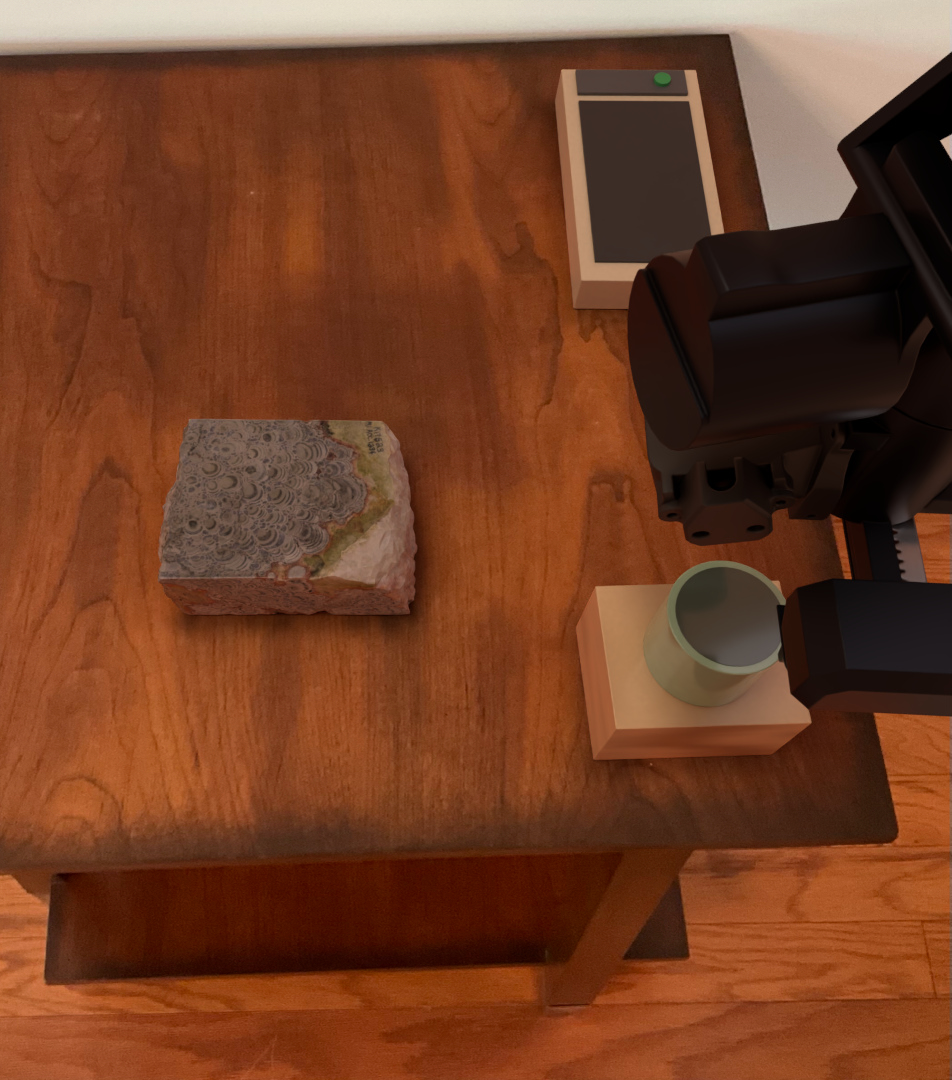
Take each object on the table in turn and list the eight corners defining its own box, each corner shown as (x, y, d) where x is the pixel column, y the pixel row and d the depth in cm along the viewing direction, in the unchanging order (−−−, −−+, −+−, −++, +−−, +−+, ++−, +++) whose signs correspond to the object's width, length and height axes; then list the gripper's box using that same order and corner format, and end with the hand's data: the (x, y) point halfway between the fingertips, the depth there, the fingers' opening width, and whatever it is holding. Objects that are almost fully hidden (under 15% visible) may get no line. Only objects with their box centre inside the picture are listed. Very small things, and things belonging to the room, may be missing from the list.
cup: (716, 583, 59) (746, 541, 54) (781, 678, 56) (818, 643, 52) (621, 626, 58) (643, 587, 53) (682, 725, 55) (711, 694, 51)
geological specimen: (164, 417, 65) (415, 410, 64) (184, 470, 70) (415, 465, 69) (147, 576, 60) (418, 572, 59) (169, 621, 65) (419, 618, 64)
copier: (554, 101, 83) (562, 62, 80) (685, 102, 83) (698, 62, 80) (573, 309, 75) (582, 274, 71) (719, 310, 74) (736, 275, 71)
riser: (744, 621, 64) (779, 580, 59) (772, 754, 60) (812, 723, 55) (575, 627, 64) (595, 585, 59) (593, 760, 61) (616, 729, 55)
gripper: (668, 138, 39) (587, 384, 53) (719, 612, 31) (607, 756, 45) (981, 147, 39) (817, 393, 53) (1117, 630, 31) (880, 771, 45)
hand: (776, 563), depth 49 cm, fingers open, 9 cm apart
